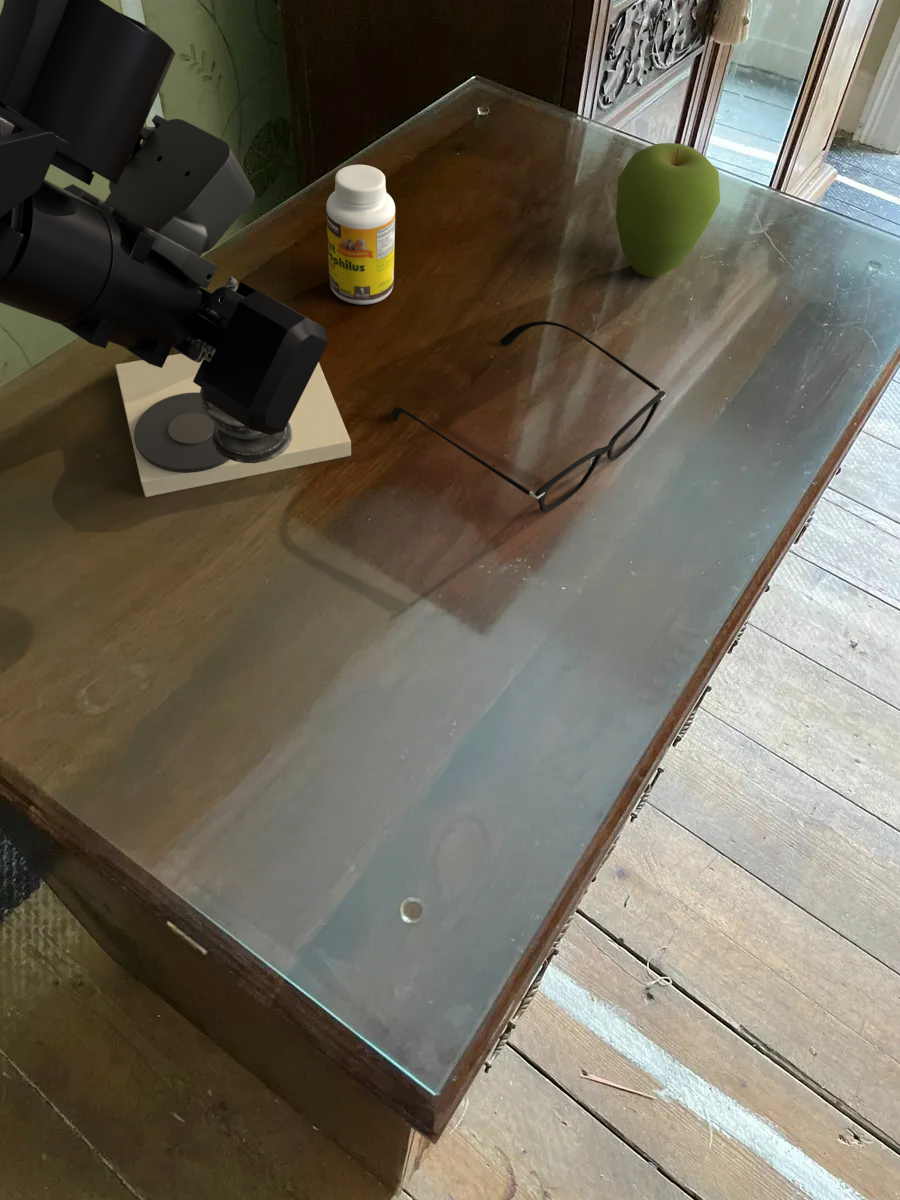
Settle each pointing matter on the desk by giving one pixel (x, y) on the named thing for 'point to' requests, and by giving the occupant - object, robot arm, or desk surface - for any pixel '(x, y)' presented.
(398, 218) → the desk surface
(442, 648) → the desk surface
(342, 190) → the supplement bottle
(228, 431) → the pewter sugar caster
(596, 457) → the eyeglasses
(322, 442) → the stove
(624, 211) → the apple
